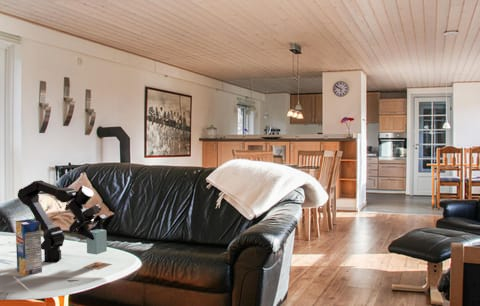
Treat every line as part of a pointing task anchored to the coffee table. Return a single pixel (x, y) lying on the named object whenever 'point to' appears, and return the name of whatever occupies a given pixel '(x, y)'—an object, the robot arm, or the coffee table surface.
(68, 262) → the coffee table surface
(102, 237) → the pale teal block
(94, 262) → the peach flattened ellipsoid
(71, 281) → the mat
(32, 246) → the beverage box
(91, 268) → the coaster
